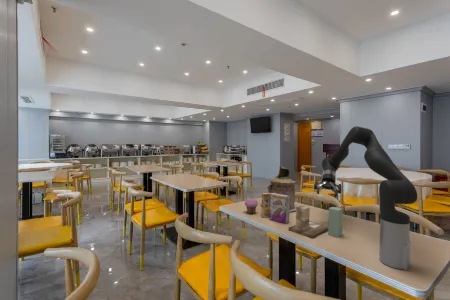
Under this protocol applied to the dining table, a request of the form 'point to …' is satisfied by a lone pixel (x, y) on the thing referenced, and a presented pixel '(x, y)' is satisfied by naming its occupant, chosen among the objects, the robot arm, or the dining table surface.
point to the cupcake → (251, 205)
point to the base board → (311, 231)
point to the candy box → (266, 204)
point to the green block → (335, 222)
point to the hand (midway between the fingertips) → (326, 194)
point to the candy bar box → (279, 208)
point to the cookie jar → (283, 186)
